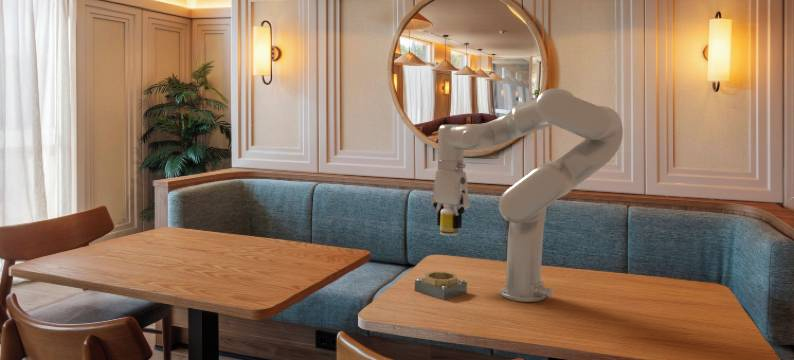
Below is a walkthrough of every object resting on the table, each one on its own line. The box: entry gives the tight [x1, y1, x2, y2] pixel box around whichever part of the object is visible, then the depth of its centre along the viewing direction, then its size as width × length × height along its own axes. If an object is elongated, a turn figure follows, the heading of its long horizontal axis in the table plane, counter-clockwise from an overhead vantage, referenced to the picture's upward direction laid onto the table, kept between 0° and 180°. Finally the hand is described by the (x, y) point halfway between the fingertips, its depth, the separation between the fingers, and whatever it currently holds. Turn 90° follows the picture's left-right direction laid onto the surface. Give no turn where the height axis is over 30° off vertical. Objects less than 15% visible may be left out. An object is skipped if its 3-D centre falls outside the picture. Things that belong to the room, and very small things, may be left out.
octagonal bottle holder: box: [414, 271, 468, 301], centre depth 169 cm, size 11×10×5 cm
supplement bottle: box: [439, 204, 459, 237], centre depth 177 cm, size 5×5×10 cm
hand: (449, 226), depth 178 cm, fingers closed on supplement bottle, 5 cm apart
